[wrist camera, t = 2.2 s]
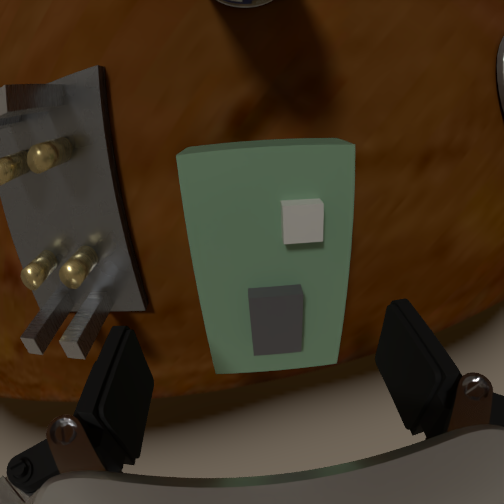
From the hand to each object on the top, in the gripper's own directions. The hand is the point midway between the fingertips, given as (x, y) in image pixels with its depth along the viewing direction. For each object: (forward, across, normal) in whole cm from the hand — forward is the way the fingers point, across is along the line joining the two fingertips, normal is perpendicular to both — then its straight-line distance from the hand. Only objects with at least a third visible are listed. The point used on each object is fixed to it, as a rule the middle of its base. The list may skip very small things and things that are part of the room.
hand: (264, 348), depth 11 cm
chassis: (+12, +14, -4) cm, 19 cm away
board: (+6, -1, 0) cm, 6 cm away
